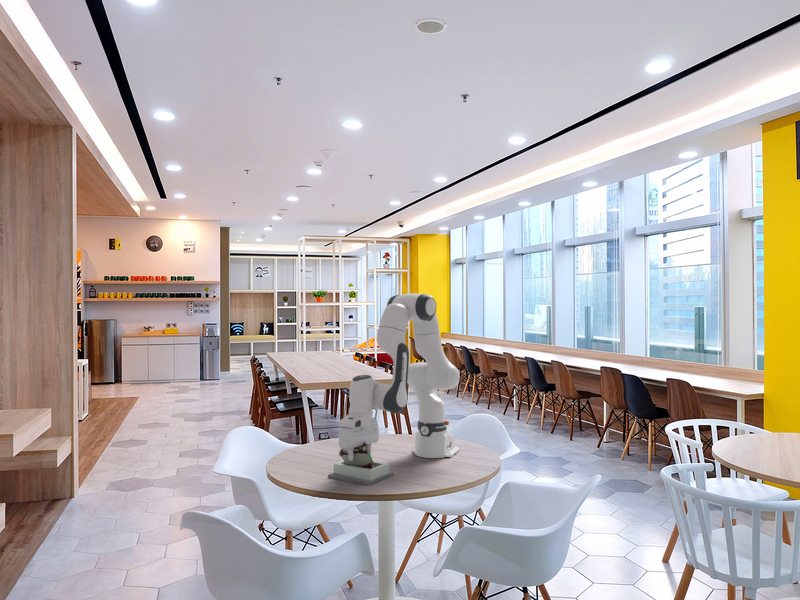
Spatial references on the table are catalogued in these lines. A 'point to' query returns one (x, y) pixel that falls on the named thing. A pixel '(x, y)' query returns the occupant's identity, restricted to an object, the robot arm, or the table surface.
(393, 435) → the table surface
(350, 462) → the food container
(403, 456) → the table surface
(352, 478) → the tray
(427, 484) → the table surface
